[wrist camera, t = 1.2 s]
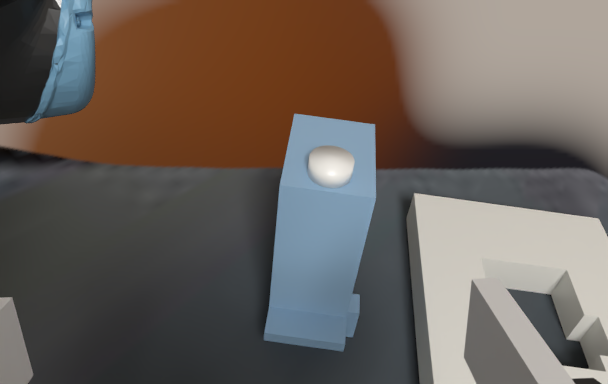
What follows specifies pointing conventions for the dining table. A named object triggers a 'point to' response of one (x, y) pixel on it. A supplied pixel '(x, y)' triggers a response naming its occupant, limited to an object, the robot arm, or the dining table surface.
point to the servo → (321, 232)
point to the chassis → (503, 276)
